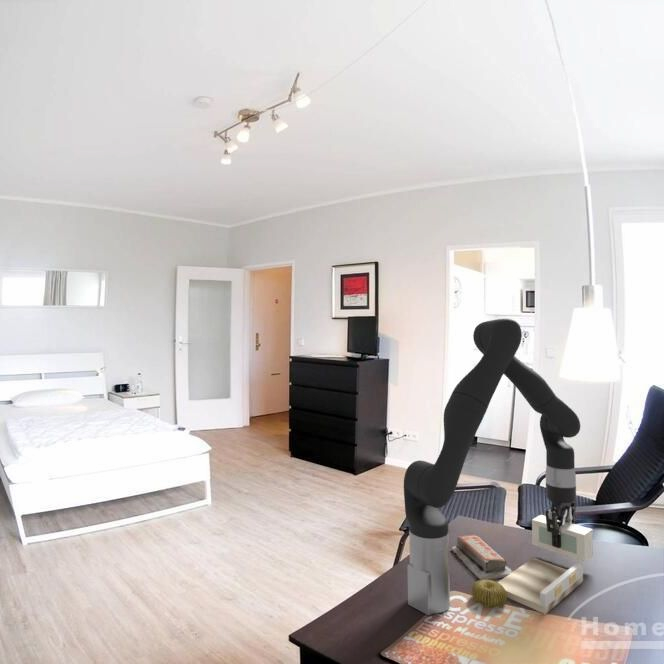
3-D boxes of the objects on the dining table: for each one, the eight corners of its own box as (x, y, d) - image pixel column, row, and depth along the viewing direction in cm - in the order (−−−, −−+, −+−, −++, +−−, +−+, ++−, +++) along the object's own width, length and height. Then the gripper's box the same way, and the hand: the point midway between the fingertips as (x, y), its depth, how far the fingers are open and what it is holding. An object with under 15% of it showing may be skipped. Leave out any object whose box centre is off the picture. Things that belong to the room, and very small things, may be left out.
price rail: (546, 608, 106) (545, 594, 106) (540, 605, 107) (539, 592, 107) (583, 575, 120) (583, 563, 120) (578, 573, 121) (577, 561, 121)
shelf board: (545, 614, 106) (545, 607, 106) (493, 591, 116) (493, 585, 116) (583, 581, 120) (583, 575, 120) (533, 563, 130) (533, 557, 130)
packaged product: (450, 535, 139) (481, 531, 141) (450, 551, 139) (481, 547, 141) (480, 563, 121) (515, 559, 123) (480, 582, 121) (515, 578, 123)
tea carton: (584, 562, 122) (584, 535, 122) (532, 544, 132) (531, 519, 133) (593, 555, 126) (592, 529, 126) (541, 538, 136) (540, 514, 136)
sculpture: (467, 588, 111) (475, 573, 118) (468, 605, 111) (476, 589, 118) (503, 597, 107) (509, 581, 113) (503, 615, 107) (509, 597, 113)
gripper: (563, 491, 122) (564, 556, 122) (585, 480, 131) (586, 540, 131) (534, 484, 127) (535, 547, 127) (558, 474, 137) (559, 532, 137)
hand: (561, 543), depth 129 cm, fingers closed on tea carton, 5 cm apart
